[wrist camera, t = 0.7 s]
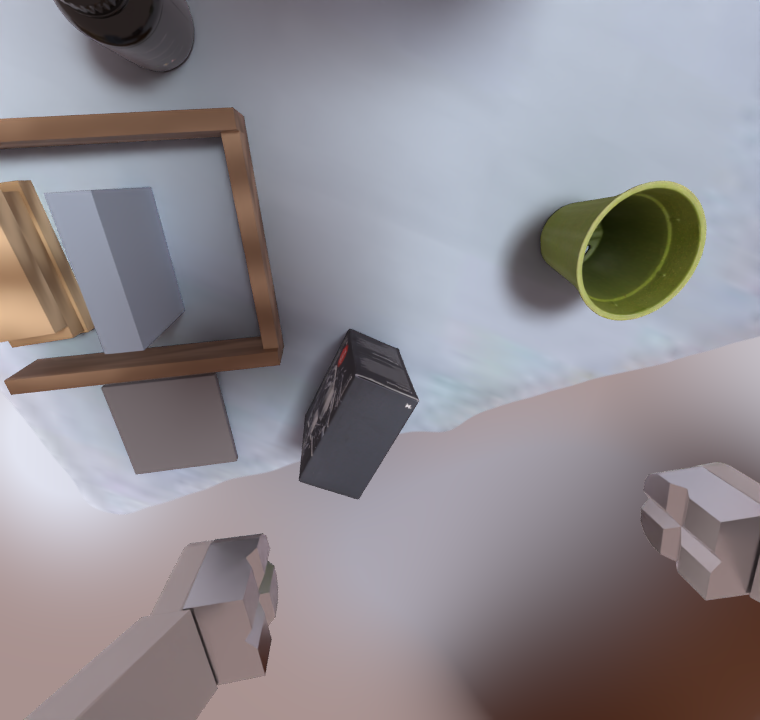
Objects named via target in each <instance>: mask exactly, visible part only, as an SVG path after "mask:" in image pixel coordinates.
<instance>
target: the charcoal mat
mask: <svg viewBox="0 0 760 720" xmlns="http://www.w3.org/2000/svg"><path fill="white" fill-rule="evenodd" d="M102 391H103V393H104V396H105V398H106V401H107V403H108V406H109V408H110V411H111V413H112V416H113V418H114V421H115V423H116V426H117V428H118V431H119V433H120V436H121V438H122V441H123V443H124V446H125V448H126V451H127V453H128V456H129V458H130V461H131V463H132V466H133V468H134V471H135V473H136V474H143V473H151V472H158V471H166V470H173V469H181V468H188V467H196V466H204V465H211V464H219V463H226V462H234V461H237V459H238V455H237V451H236V447H235V443H234V439H233V436H232V432H231V428H230V424H229V420H228V416H227V412H226V409H225V405H224V401H223V397H222V393H221V389H220V385H219V382H218V378H217V374H216V372H214V373H205V374H196V375H186V376H177V377H168V378H159V379H150V380H141V381H132V382H123V383H114V384H105V385H104V386H103V387H102Z"/></svg>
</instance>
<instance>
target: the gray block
mask: <svg viewBox="0 0 760 720" xmlns="http://www.w3.org/2000/svg"><path fill="white" fill-rule="evenodd" d="M44 196H45V198H46V201H47V203H48V206H49V209H50V211H51V214H52V217H53V219H54V222H55V224H56V227H57V230H58V232H59V235H60V238H61V240H62V243H63V245H64V248H65V251H66V253H67V256H68V259H69V261H70V264H71V266H72V269H73V272H74V274H75V277H76V280H77V282H78V285H79V287H80V290H81V293H82V295H83V298H84V301H85V303H86V306H87V308H88V311H89V314H90V316H91V319H92V322H93V324H94V327H95V329H96V332H97V335H98V337H99V340H100V343H101V345H102V348H103V350H104V353H105V354H114V353H124V352H133V351H143V350H145V349H146V348H147V347H148V346H149V345H150V344H151V343H152V342H153V341H154V340H155V339H156V338H157V337H158V336H159V335H160V334H161V333H162V332H163V331H164V330H165V329H166V328H167V327H169V326H170V325H171V324H172V323H173V322H174V321H175V320H176V319H177V318H178V317H179V316H180V315H181V314H182V313H183V312H184V311H185V308H184V304H183V301H182V297H181V293H180V290H179V286H178V282H177V279H176V275H175V272H174V268H173V264H172V261H171V257H170V253H169V250H168V246H167V242H166V239H165V235H164V232H163V228H162V224H161V221H160V217H159V213H158V210H157V206H156V203H155V199H154V195H153V192H152V188H151V187H142V188H122V189H103V190H85V191H70V192H55V193H44Z"/></svg>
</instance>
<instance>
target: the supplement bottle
mask: <svg viewBox="0 0 760 720" xmlns="http://www.w3.org/2000/svg"><path fill="white" fill-rule="evenodd" d="M54 2H55V4H56V5H57V7H58V8H59V10H60V11H61V12H62V14H63V15H64V16H65V17H66V18H67V20H68V21H69V22H70V23H71V24H72V25H73V26H74V27H75V28H77V29H78V30H79V31H80V32H82V33H83V34H84V35H86V36H87V37H89V38H90V39H92V40H94V41H95V42H97V43H99V44H101V45H102V46H104V47H106V48H108V49H109V50H111V51H113V52H115V53H117V54H118V55H120V56H122V57H124V58H125V59H127V60H129V61H131V62H132V63H134V64H136V65H138V66H140V67H143V68H145V69H148V70H152V71H168V70H171V69H174V68H176V67H178V66H179V65H180V64H182V63H183V62H184V61H185V59H186V58H187V56H188V55H189V53H190V51H191V48H192V44H193V38H194V26H193V20H192V15H191V12H190V9H189V6H188V4H187V2H186V0H54Z"/></svg>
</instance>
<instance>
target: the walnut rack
mask: <svg viewBox="0 0 760 720" xmlns="http://www.w3.org/2000/svg"><path fill="white" fill-rule="evenodd" d="M208 137H222V142H223V147H224V152H225V157H226V162H227V167H228V172H229V177H230V182H231V187H232V192H233V197H234V202H235V207H236V212H237V217H238V223H239V228H240V233H241V238H242V243H243V248H244V253H245V258H246V263H247V268H248V273H249V278H250V283H251V288H252V293H253V298H254V303H255V308H256V313H257V318H258V323H259V328H260V333H261V336H259V337H249V338H240V339H230V340H220V341H211V342H201V343H191V344H182V345H172V346H162V347H152V348H146V349H145V350H143V351H133V352H124V353H114V354H105V353H94V354H85V355H75V356H65V357H56V358H46V359H37V360H36V361H34V362H33V363H31V364H30V365H28V366H26V367H25V368H23V369H22V370H20V371H19V372H17V373H16V374H14V375H12V376H11V377H9V378H8V379H6V380H5V381H4V382H5V384H6V386H7V388H8V390H9V392H10V394H11V395H13V394H22V393H31V392H40V391H49V390H58V389H67V388H76V387H85V386H94V385H103V384H112V383H121V382H130V381H140V380H149V379H158V378H167V377H176V376H185V375H194V374H203V373H212V372H221V371H230V370H239V369H248V368H257V367H266V366H275V365H280V363H281V358H282V354H283V349H284V343H283V338H282V332H281V326H280V321H279V315H278V309H277V303H276V298H275V292H274V286H273V280H272V275H271V269H270V263H269V258H268V252H267V246H266V240H265V235H264V229H263V223H262V217H261V212H260V206H259V200H258V195H257V189H256V183H255V177H254V172H253V166H252V160H251V155H250V149H249V143H248V137H247V132H246V126H245V120H244V116H243V115H242V114H240V113H239V112H238V111H237V110H235V109H234V108H233V107H232V108H212V109H191V110H171V111H151V112H130V113H110V114H90V115H69V116H49V117H29V118H8V119H0V149H11V148H29V147H47V146H65V145H83V144H101V143H118V142H136V141H154V140H172V139H190V138H208Z"/></svg>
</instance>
